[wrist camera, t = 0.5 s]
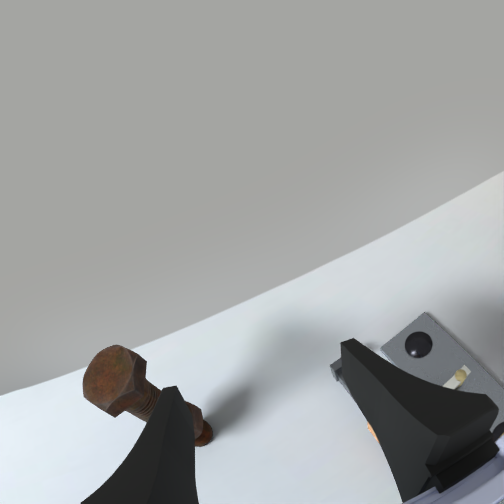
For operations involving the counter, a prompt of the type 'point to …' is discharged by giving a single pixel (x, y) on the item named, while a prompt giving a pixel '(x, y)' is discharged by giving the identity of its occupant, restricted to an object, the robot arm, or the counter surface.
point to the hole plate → (442, 362)
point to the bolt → (130, 389)
